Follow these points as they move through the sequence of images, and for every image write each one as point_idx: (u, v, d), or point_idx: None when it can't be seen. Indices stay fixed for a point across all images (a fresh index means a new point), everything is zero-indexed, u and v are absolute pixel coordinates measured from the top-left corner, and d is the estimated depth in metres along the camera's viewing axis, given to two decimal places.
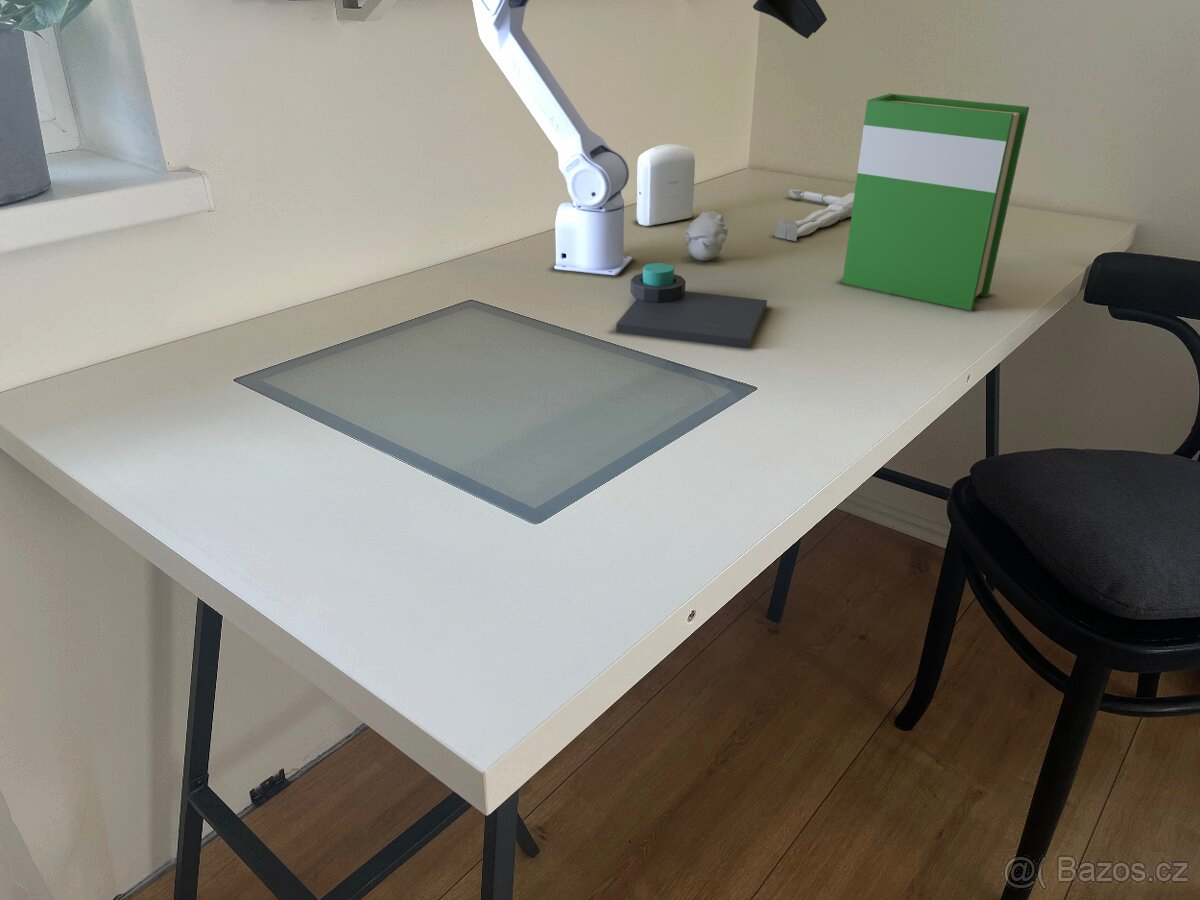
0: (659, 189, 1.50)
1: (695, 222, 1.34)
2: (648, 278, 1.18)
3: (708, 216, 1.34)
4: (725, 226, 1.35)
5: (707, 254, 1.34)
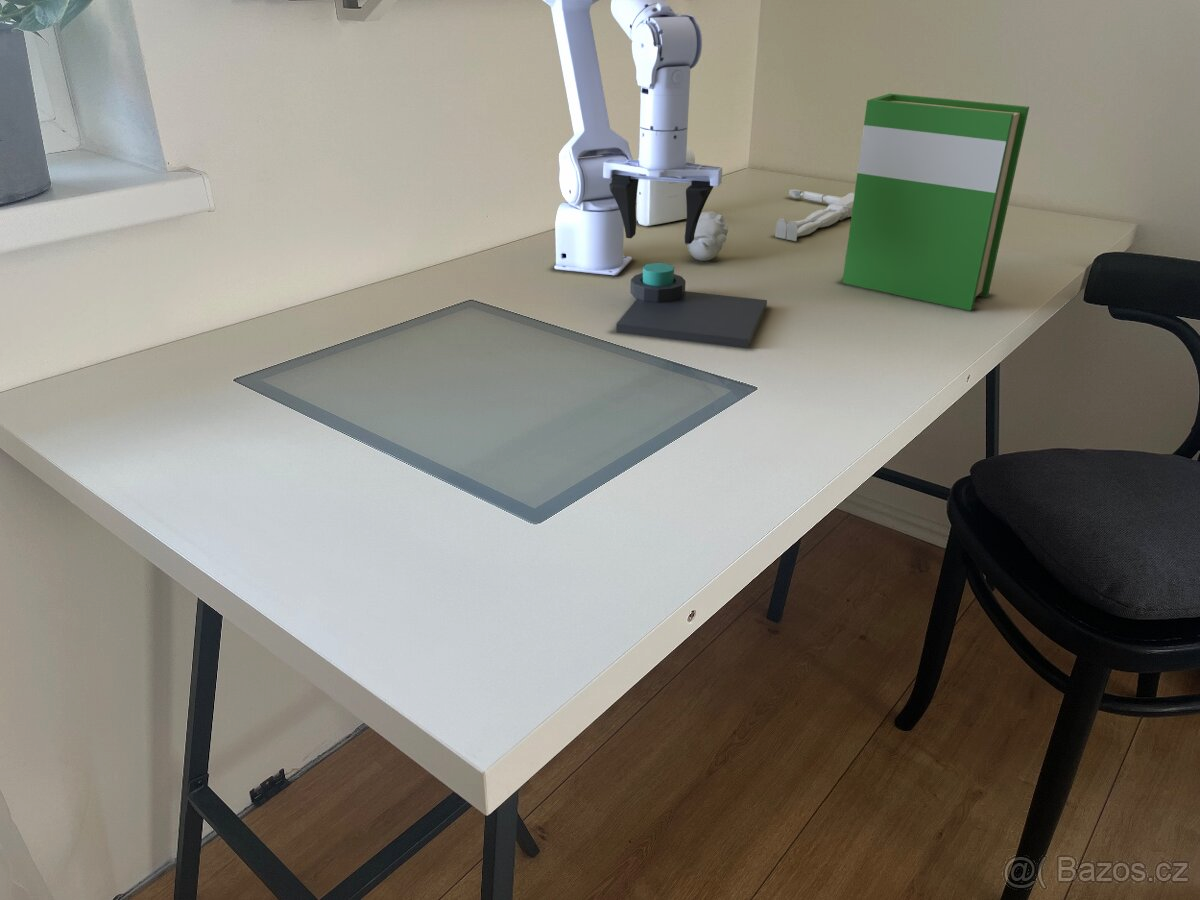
0: (659, 189, 1.50)
1: None
2: (648, 278, 1.18)
3: (708, 216, 1.34)
4: (725, 226, 1.35)
5: (707, 254, 1.34)
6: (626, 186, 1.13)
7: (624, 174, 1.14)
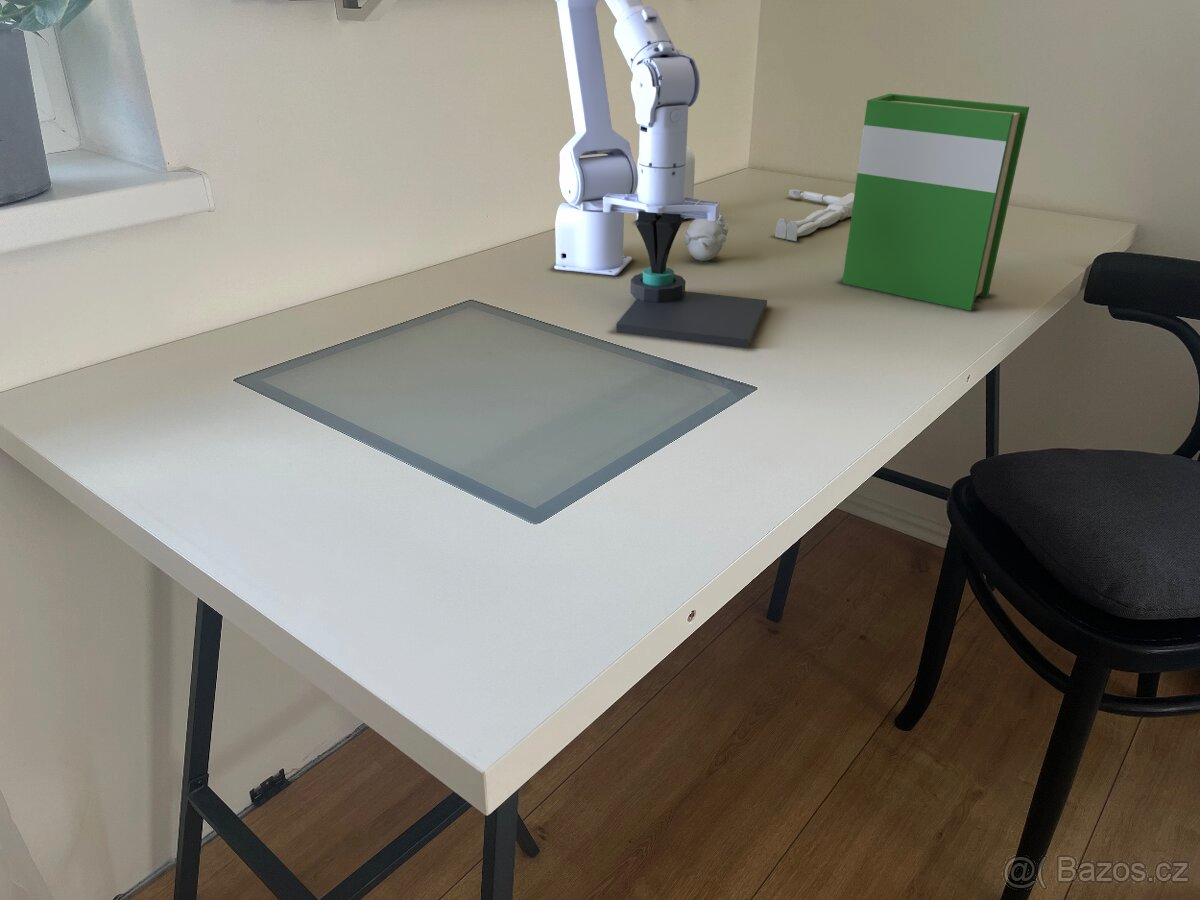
0: None
1: (695, 222, 1.34)
2: (647, 282, 1.18)
3: None
4: (725, 226, 1.35)
5: (707, 254, 1.34)
6: (652, 223, 1.14)
7: None
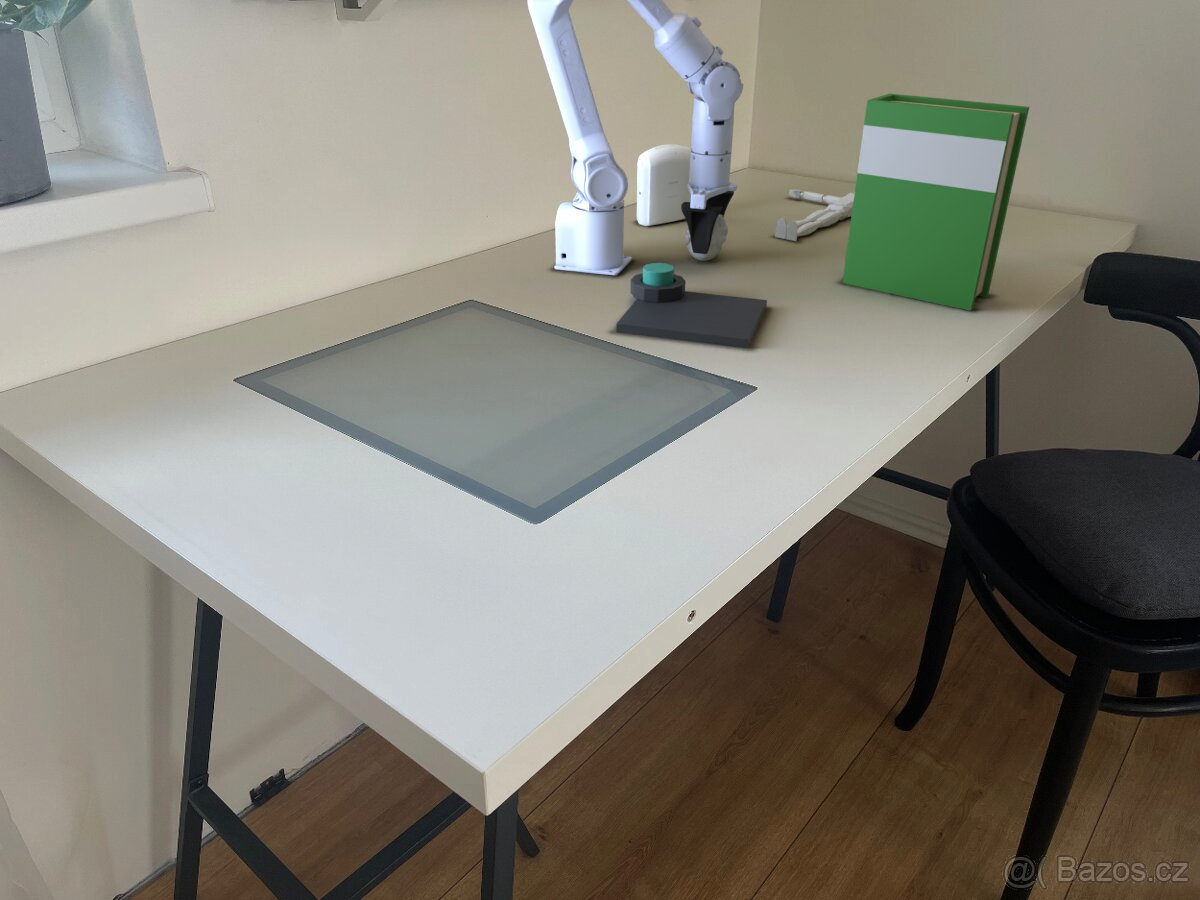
0: (659, 189, 1.50)
1: None
2: (648, 278, 1.18)
3: None
4: (725, 226, 1.35)
5: (707, 254, 1.34)
6: (718, 207, 1.30)
7: None
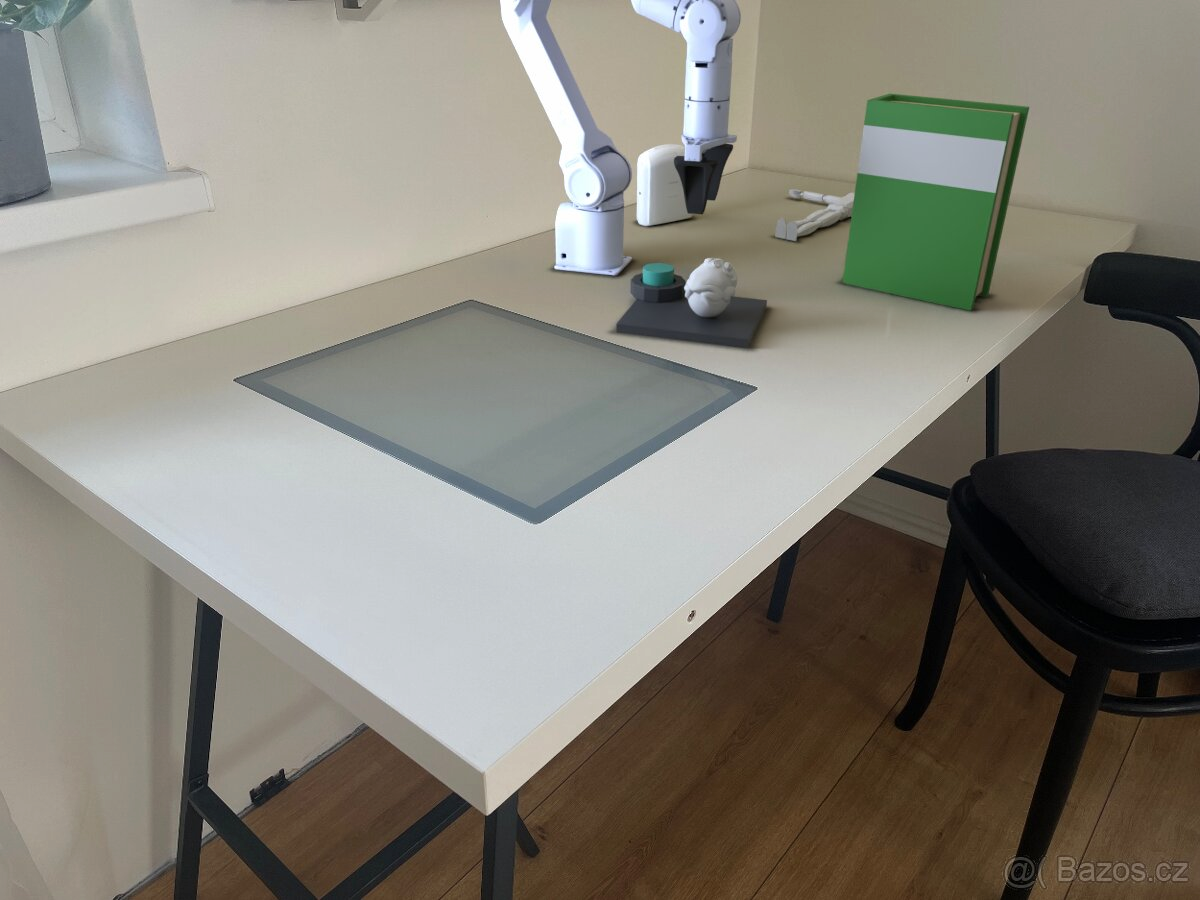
0: (659, 189, 1.50)
1: (697, 272, 1.10)
2: (648, 278, 1.18)
3: (713, 265, 1.10)
4: (734, 276, 1.11)
5: (712, 310, 1.11)
6: None
7: None
